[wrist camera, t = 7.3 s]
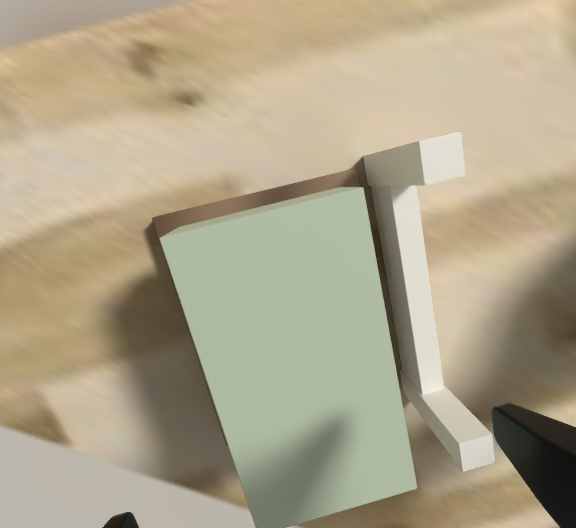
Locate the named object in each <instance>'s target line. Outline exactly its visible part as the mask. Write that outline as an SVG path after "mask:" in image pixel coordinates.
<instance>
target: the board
mask: <svg viewBox="0 0 576 528" xmlns="http://www.w3.org/2000/svg"><path fill="white" fill-rule="evenodd" d="M160 241H161V244H162V247H163V250H164V253H165V256H166V259H167V262H168V265H169V268H170V271H171V274H172V277H173V280H174V283H175V286H176V289H177V292H178V295H179V298H180V301H181V304H182V307H183V310H184V313H185V316H186V319H187V322H188V325H189V328H190V331H191V334H192V337H193V340H194V343H195V346H196V349H197V352H198V355H199V358H200V361H201V364H202V367H203V370H204V373H205V376H206V379H207V382H208V385H209V388H210V391H211V394H212V397H213V400H214V403H215V406H216V409H217V412H218V415H219V418H220V421H221V424H222V427H223V430H224V433H225V436H226V439H227V442H228V445H229V448H230V451H231V454H232V457H233V460H234V463H235V466H236V470H237V473H238V476H239V479H240V482H241V485H242V488H243V491H244V494H245V497H246V500H247V503H248V506H249V509H250V512H251V515H252V517H253V520H254V523H255V527H256V528H286V527H289V526H293V525H296V524H300V523H303V522H306V521H310V520H313V519H316V518H320V517H323V516H327V515H330V514H333V513H337V512H340V511H343V510H347V509H350V508H354V507H357V506H360V505H364V504H367V503H370V502H374V501H377V500H381V499H384V498H387V497H391V496H394V495H397V494H401V493H404V492H408V491H411V490H414V489H418V488H417V482H416V477H415V471H414V466H413V460H412V455H411V449H410V443H409V438H408V432H407V427H406V421H405V416H404V410H403V405H402V399H401V394H400V388H399V382H398V377H397V371H396V366H395V360H394V355H393V349H392V344H391V338H390V333H389V327H388V321H387V316H386V310H385V305H384V299H383V294H382V288H381V283H380V277H379V271H378V266H377V260H376V255H375V249H374V244H373V238H372V233H371V227H370V222H369V216H368V210H367V205H366V199H365V194H364V188H363V187H338V188H334V189H330V190H326V191H322V192H318V193H314V194H310V195H306V196H302V197H298V198H294V199H290V200H286V201H282V202H278V203H274V204H270V205H265V206H261V207H257V208H253V209H249V210H245V211H241V212H237V213H233V214H229V215H225V216H221V217H217V218H213V219H209V220H205V221H201V222H197V223H193V224H189V225H185V226H181V227H178V228H176V229H175V230H173V231H171V232H169V233H168V234H166V235H164V236H162V237H160Z"/></svg>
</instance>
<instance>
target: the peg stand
mask: <svg viewBox="0 0 576 528" xmlns="http://www.w3.org/2000/svg"><path fill="white" fill-rule="evenodd" d="M338 187H360V185H359V180H358V174H357V169H352V170H347V171H343V172H339V173H335V174H331V175H327V176H323V177H318V178H314V179H310V180H306V181H302V182H298V183H293V184H289V185H285V186H281V187H277V188H273V189H269V190H264V191H260V192H256V193H252V194H248V195H244V196H240V197H235V198H231V199H227V200H223V201H219V202H215V203H210V204H206V205H202V206H198V207H194V208H190V209H186V210H181V211H177V212H173V213H169V214H165V215H161V216H157V217H154V218H152V220H153V223H154V226H155V229H156V232H157V235H158V238H159V241H160V237H162V236H164V235H166V234H168V233H169V232H171V231H173V230H175V229H176V228H178V227H181V226H185V225H189V224H193V223H197V222H201V221H205V220H209V219H213V218H217V217H221V216H225V215H229V214H233V213H237V212H241V211H245V210H249V209H253V208H257V207H261V206H265V205H270V204H274V203H278V202H282V201H286V200H290V199H294V198H298V197H302V196H306V195H310V194H314V193H318V192H322V191H326V190H330V189H334V188H338ZM160 244H161V241H160ZM161 247H162V244H161ZM162 250H163V247H162ZM163 253H164V250H163ZM164 256H165V253H164ZM165 260H166V263H167V266H168V269H169V272H170V275H171V278H172V281H173V284H174V287H175V290H176V293H177V296H178V299H179V302H180V305H181V308H182V311H183V314H184V317H185V321H186V324H187V327H188V330H189V333H190V336H191V339H192V342H193V345H194V348H195V351H196V354H197V357H198V360H199V363H200V366H201V369H202V372H203V375H204V378H205V381H206V385H207V388H208V391H209V394H210V397H211V400H212V403H213V406H214V409H215V412H216V415H217V418H218V421H219V424H220V427H221V430H222V433H223V436H224V439H225V442H226V445H228V442H227V439H226V436H225V433H224V430H223V427H222V424H221V421H220V418H219V415H218V412H217V409H216V406H215V403H214V400H213V397H212V394H211V391H210V388H209V385H208V382H207V379H206V376H205V373H204V370H203V367H202V364H201V361H200V358H199V355H198V352H197V349H196V346H195V343H194V340H193V337H192V334H191V331H190V328H189V325H188V322H187V319H186V316H185V313H184V310H183V307H182V304H181V301H180V298H179V295H178V292H177V289H176V286H175V283H174V280H173V277H172V274H171V271H170V268H169V265H168V262H167V259H166V256H165Z"/></svg>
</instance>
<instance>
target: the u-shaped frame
mask: <svg viewBox="0 0 576 528" xmlns="http://www.w3.org/2000/svg"><path fill="white" fill-rule="evenodd" d="M363 159H364V165H365V170H366V176H367V182H368V186H371V189H372V195H373V200H374V206H375V212H376V218H377V224H378V230H379V236H380V242H381V248H382V254H383V259H384V265H385V271H386V277H387V283H388V289H389V295H390V301H391V307H392V313H393V318H394V324H395V330H396V336H397V342H398V348H399V354H400V360H401V366H402V370H400V374H401V380H402V386H403V392H404V393H405V395H406V396H407V397H408V399H409V400H410V402H411V403H412V404H413V406H414V407H415V408H416V410H417V411H418V412H419V414H420V415H421V416H422V418H423V419H424V420H425V422H426V423H427V424H428V426H429V427H430V428H431V430H432V431H433V432H434V434H435V435H436V436H437V438H438V439H439V441H440V442H441V443H442V445H443V446H444V447H445V449H446V450H447V451H448V453H449V454H450V455H451V457H452V458H453V459H454V461H455V462H456V463H457V465H458V466H459V467H460V469H461V470H462V471H463V472H465V471H468V470H472V469H475V468H478V467H482V466H485V465H489V464H492V463H495V456H494V446H493V436H492V433H491V432H490V431H489V430H488V429H487V428H486V427H485V426H484V425H483V424H482V423H481V422H480V421H479V420H478V419H477V418H476V417H475V416H474V415H473V414H472V413H471V412H470V411H469V410H468V409H467V408H466V407H465V406H464V405H463V404H462V403H461V402H460V401H459V400H458V399H457V398H456V397H455V396H454V395H453V393H452V392H451V391H450V390H449V389H448V388H447V387H446V386H445V385H444V383H443V376H442V369H441V361H440V354H439V347H438V340H437V332H436V325H435V318H434V311H433V304H432V296H431V289H430V282H429V275H428V267H427V260H426V253H425V246H424V239H423V231H422V224H421V217H420V210H419V202H418V195H417V188H416V185H429V184H433V183H437V182H441V181H445V180H449V179H453V178H457V177H461V176H465V166H464V157H463V147H462V137H461V131H460V132H456V133H451V134H447V135H443V136H439V137H435V138H431V139H426V140H422V141H418V142H414V143H411V144H407V145H403V146H400V147H396V148H392V149H389V150H385V151H381V152H377V153H374V154H370V155H366V156H363Z"/></svg>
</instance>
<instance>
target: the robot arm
mask: <svg viewBox="0 0 576 528" xmlns="http://www.w3.org/2000/svg"><path fill="white" fill-rule="evenodd" d="M492 422H493V431H494V436H495V439H496V441H497V443H498V445H499V446H500V448H501V449H502V450H503V452H504V453H505V455H506V456H507V457H508V459H509V460H510V462H511V463H512V464H513V466H514V467H515V469H516V470H517V471H518V473H519V474H520V476H521V477H522V478H523V480H524V481H525V483H526V484H527V485H528V487H529V488H530V490H531V491H532V492H533V494H534V495H535V496H536V498H537V499H538V500H539V502H540V503H541V504H542V506H543V507H544V508H545V510H546V511H547V512H548V513H549V514H550V516H551V517H552V518H553V519H554V520H555V522H556V523H557V524H558V525H559V526H560V528H576V427H573V426H571V425H568V424H565V423H563V422H560V421H557V420H554V419H552V418H549V417H546V416H544V415H541V414H538V413H536V412H533V411H530V410H528V409H525V408H522V407H520V406H517V405H514V404H511V403H504V404H500V405H497V406H494V407H493V408H492ZM103 528H139V527H138V524H137V522H136V520H135V517H134V515H133V514H132V513H131V512H126V513H122V514H119V515H115V516H113V517H112V518H111V519H110V520H109V521H108V522H107V523H106V524H105V525H104V527H103Z"/></svg>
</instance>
